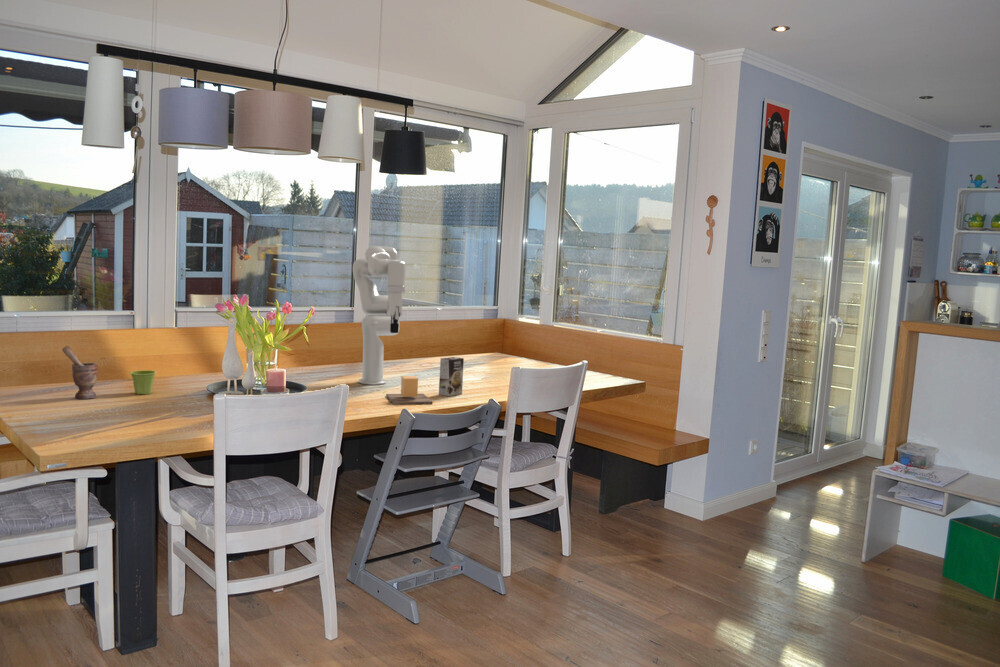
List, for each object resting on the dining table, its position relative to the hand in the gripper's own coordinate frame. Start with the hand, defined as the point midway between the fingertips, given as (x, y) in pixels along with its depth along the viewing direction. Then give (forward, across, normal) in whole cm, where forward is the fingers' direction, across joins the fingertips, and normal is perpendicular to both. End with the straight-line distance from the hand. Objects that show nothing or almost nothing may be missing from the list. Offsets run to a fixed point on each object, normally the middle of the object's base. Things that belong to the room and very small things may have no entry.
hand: (394, 332), depth 328 cm
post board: (+27, +12, +5) cm, 30 cm away
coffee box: (+27, 0, +26) cm, 38 cm away
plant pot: (+27, -9, -99) cm, 103 cm away
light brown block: (+25, +12, +5) cm, 28 cm away
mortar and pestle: (+27, -1, -120) cm, 123 cm away
